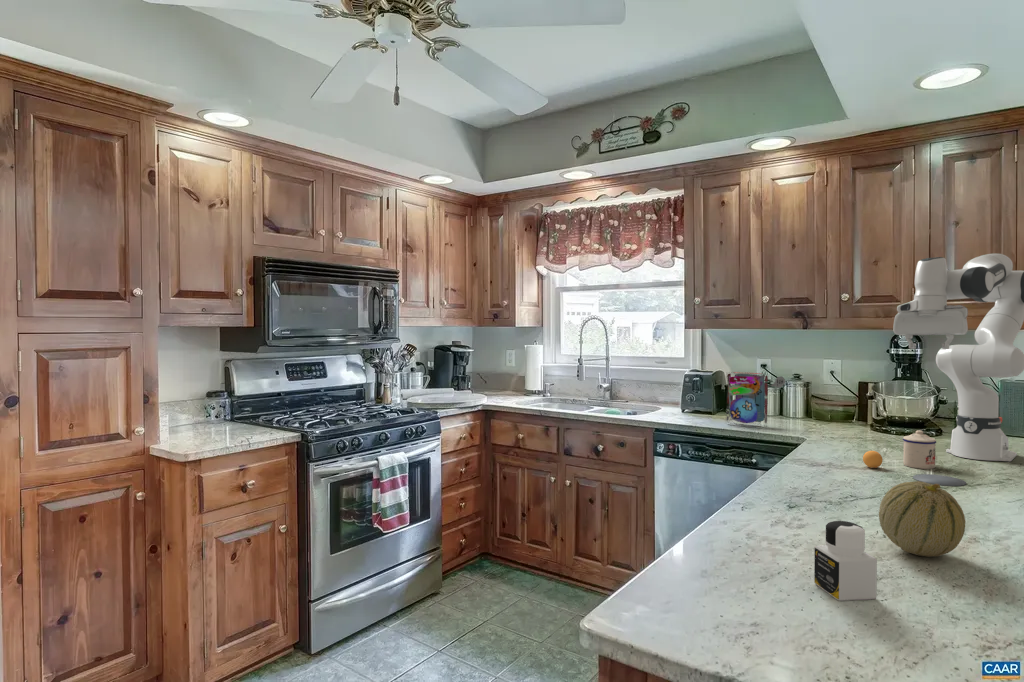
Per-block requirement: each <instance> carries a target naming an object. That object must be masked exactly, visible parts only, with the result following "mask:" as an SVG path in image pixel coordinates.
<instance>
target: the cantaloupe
mask: <svg viewBox="0 0 1024 682" xmlns="http://www.w3.org/2000/svg"><path fill="white" fill-rule="evenodd" d="M881 499H882V500H881V502H880V505H879V510H878V520H879V525H880V528H881V530H882V532H883V533H884V535H885V536H886V537H888V539H889V540H890V541H891V543H893V544H894V545H895V546H897V547H898V548H900V549H901V550H902V551H904V552H906V553H910V554H913V555H915V556H920V557H927V558H929V557H940V556H943V555H946V554H949V553H951V552H952V551H954V550H955V549H956V548H957V547H958V545H959V544H960V543H961V541H962V539H963V538H964V535H965V530H966V524H967V523H966V516H965V513H964V510H963V509H962V507H961V505H960V504H959V502H958V501H957V500H956V499H955V497H954V496H953V495H952V494H950V493H949V492H948V490H945V489H943V488H942V487H941V485H939V484H928V483H925V482H920V481H917V480H915V481H905V482H901V483H898V484H897V485H894V486H892V487H891V488H890V489H888V491H887V492H886V493H885V494H884V496H883V497H882V498H881Z"/></svg>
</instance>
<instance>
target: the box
mask: <svg viewBox="0 0 1024 682" xmlns="http://www.w3.org/2000/svg"><path fill="white" fill-rule="evenodd" d="M732 374H735V375H734V376H732ZM768 376H769V375H768V374H767V373H763V372H749V371H748V372H745V371H742V372H741V371H729V372H728V373H727V374H726V378H727V380H726V385H727V390H725V391H726V394H725V395H726V404H727V405H726V423H729V419H731V421H732V422H731V423H732V424H731V427H732V426H733V427H734V425H736V423H740V425H745V424H749V426H751V427H753V428H755V429H756V426H753V423H754V422H755V423H754V425H757V426H758V425H760V424H761V422H764V425H763V426H764V427H763V426H762V425H760V426H758V427H759V428H762V429H763V428H767V427H768V425H767V424H768V404H769V403H768V401H769V400H768V396H769V395H768V394H769V388H768V386H769V385H768V380H769V377H768ZM785 383H786V380H785V378H784V377H783V376H777V377H776V378H775V381H774V383H773V384H770V386H771V387H776V388H778V389H779V388H782V387H783V386H785ZM732 396H734V397H735V398H734V399H733V398H732ZM728 409H729V410H728ZM728 414H729V416H728ZM733 421H735V422H736V423H735V422H733ZM756 422H757V423H756ZM751 423H752V425H751ZM740 427H742V428H743V426H740Z"/></svg>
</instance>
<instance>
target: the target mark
mask: <svg viewBox="0 0 1024 682" xmlns="http://www.w3.org/2000/svg"><path fill="white" fill-rule="evenodd" d="M912 479H913V480H915V481H920V482H925V483H928V484H932V485H934V484H939V485H940V486H942V487H943V486H945V487H962V486H965V485H967V481H966V480H963V479H960V478H958V477H955V476H954V477H953V476H950V475H949V476H948V475H942V474H931V473H928V474H927V473H923V474H922V473H920V474H914V475H913V476H912Z"/></svg>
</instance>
